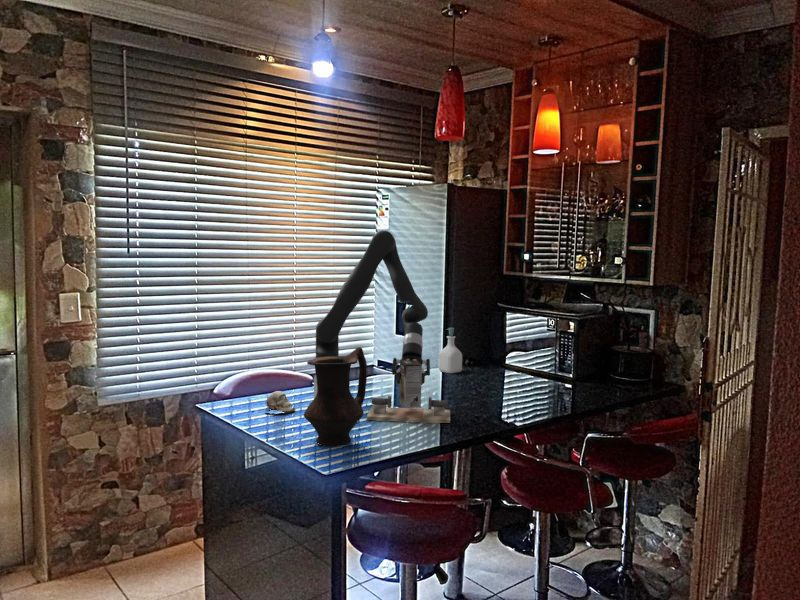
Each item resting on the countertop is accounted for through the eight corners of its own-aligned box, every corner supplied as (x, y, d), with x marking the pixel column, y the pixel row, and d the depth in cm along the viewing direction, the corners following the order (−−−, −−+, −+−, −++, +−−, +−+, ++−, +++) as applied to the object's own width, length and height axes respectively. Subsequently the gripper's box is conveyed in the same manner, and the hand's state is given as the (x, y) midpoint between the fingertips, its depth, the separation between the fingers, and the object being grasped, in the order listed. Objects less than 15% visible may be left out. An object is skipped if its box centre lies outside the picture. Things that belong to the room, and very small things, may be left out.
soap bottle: (450, 369, 324) (451, 326, 322) (463, 372, 316) (464, 328, 315) (436, 371, 318) (438, 327, 316) (450, 374, 310) (451, 329, 309)
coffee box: (398, 402, 232) (399, 359, 230) (415, 401, 233) (416, 359, 232) (404, 408, 223) (404, 364, 221) (421, 407, 224) (422, 363, 223)
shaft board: (366, 420, 223) (366, 399, 222) (371, 410, 237) (371, 390, 236) (450, 424, 220) (450, 402, 220) (450, 413, 234) (450, 393, 233)
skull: (303, 406, 237) (292, 390, 230) (290, 429, 231) (278, 413, 224) (279, 401, 242) (268, 385, 236) (265, 423, 236) (253, 407, 230)
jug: (321, 456, 183) (322, 356, 180) (293, 440, 198) (294, 347, 195) (380, 444, 195) (382, 350, 193) (350, 430, 210) (351, 342, 208)
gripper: (393, 341, 234) (390, 377, 224) (431, 342, 233) (429, 378, 223) (394, 352, 240) (391, 388, 230) (431, 353, 239) (429, 389, 228)
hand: (410, 383), depth 226 cm, fingers closed on coffee box, 8 cm apart
